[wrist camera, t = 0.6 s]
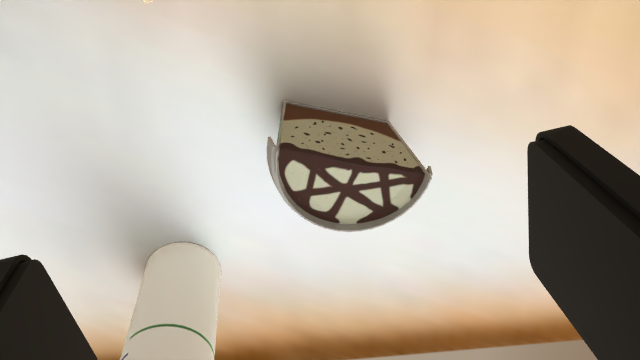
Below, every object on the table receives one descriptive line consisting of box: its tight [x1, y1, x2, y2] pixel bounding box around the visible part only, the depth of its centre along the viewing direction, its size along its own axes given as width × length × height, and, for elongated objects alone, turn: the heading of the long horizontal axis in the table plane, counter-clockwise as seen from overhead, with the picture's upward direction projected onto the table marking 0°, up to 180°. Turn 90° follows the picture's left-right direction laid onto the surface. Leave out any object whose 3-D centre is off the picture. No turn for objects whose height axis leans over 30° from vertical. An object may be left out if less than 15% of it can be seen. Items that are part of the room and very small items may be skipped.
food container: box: [267, 101, 432, 232], centre depth 43 cm, size 12×6×10 cm, turn 76°
